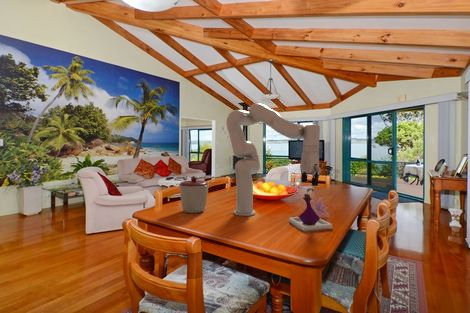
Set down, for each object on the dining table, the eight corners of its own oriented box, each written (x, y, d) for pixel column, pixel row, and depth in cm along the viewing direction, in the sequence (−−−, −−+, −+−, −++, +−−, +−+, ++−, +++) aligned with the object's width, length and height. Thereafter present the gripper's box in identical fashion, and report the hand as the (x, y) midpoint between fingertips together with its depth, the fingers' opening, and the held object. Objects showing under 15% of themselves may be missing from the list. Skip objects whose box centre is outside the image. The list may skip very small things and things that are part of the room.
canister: (172, 213, 147) (172, 177, 146) (187, 206, 165) (187, 173, 164) (201, 216, 142) (201, 179, 141) (213, 208, 159) (213, 175, 158)
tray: (288, 222, 133) (288, 217, 133) (314, 219, 137) (314, 215, 137) (303, 231, 119) (304, 226, 118) (331, 229, 122) (332, 224, 122)
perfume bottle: (308, 227, 123) (309, 189, 122) (298, 222, 129) (298, 187, 128) (320, 224, 126) (321, 188, 125) (309, 220, 133) (309, 186, 132)
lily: (306, 219, 141) (313, 206, 137) (303, 206, 152) (310, 194, 147) (326, 226, 141) (334, 213, 137) (322, 212, 152) (330, 200, 148)
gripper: (295, 148, 133) (293, 181, 134) (313, 150, 116) (312, 187, 118) (308, 148, 135) (306, 180, 136) (328, 150, 118) (326, 187, 120)
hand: (309, 183), depth 127 cm, fingers open, 9 cm apart
